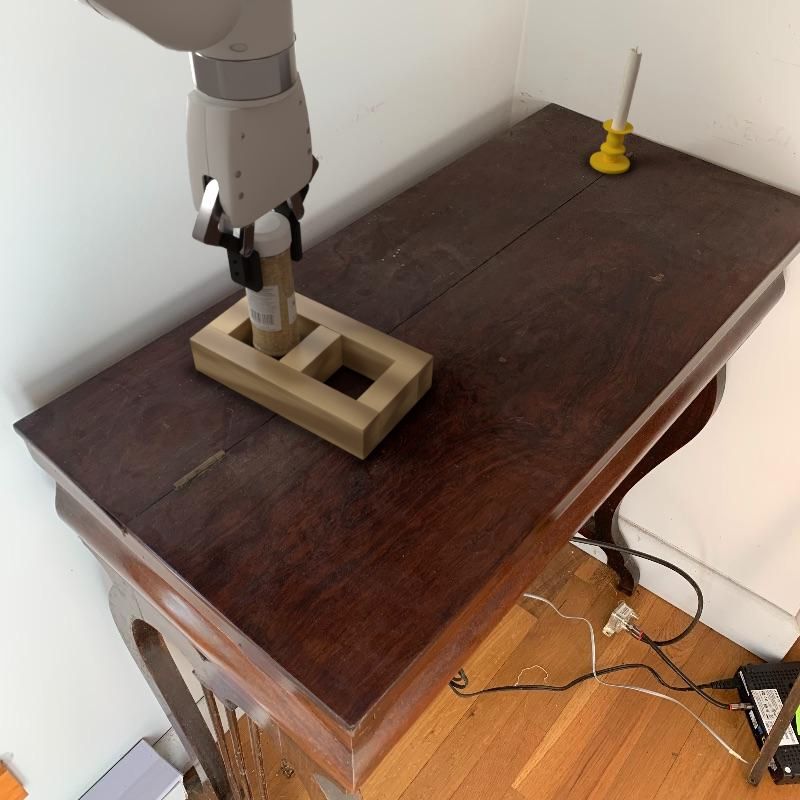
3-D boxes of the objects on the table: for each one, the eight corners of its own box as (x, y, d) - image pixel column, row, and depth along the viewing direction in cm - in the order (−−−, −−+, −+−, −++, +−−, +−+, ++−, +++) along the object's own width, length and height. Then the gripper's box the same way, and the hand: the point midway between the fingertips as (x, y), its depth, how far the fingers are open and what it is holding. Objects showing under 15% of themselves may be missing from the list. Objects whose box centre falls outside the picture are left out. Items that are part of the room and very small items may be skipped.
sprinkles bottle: (309, 341, 77) (301, 222, 68) (274, 365, 75) (260, 245, 65) (277, 320, 79) (264, 202, 70) (242, 343, 77) (223, 223, 67)
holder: (363, 460, 70) (363, 430, 67) (195, 369, 78) (189, 338, 75) (431, 386, 77) (433, 356, 74) (271, 309, 84) (267, 278, 81)
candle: (623, 154, 109) (652, 37, 98) (633, 174, 105) (664, 55, 94) (585, 154, 109) (610, 37, 98) (594, 174, 105) (621, 55, 94)
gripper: (279, 17, 64) (294, 213, 77) (118, 93, 54) (167, 304, 67) (355, 40, 62) (358, 239, 75) (200, 125, 52) (235, 338, 65)
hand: (267, 268), depth 71 cm, fingers closed on sprinkles bottle, 4 cm apart
